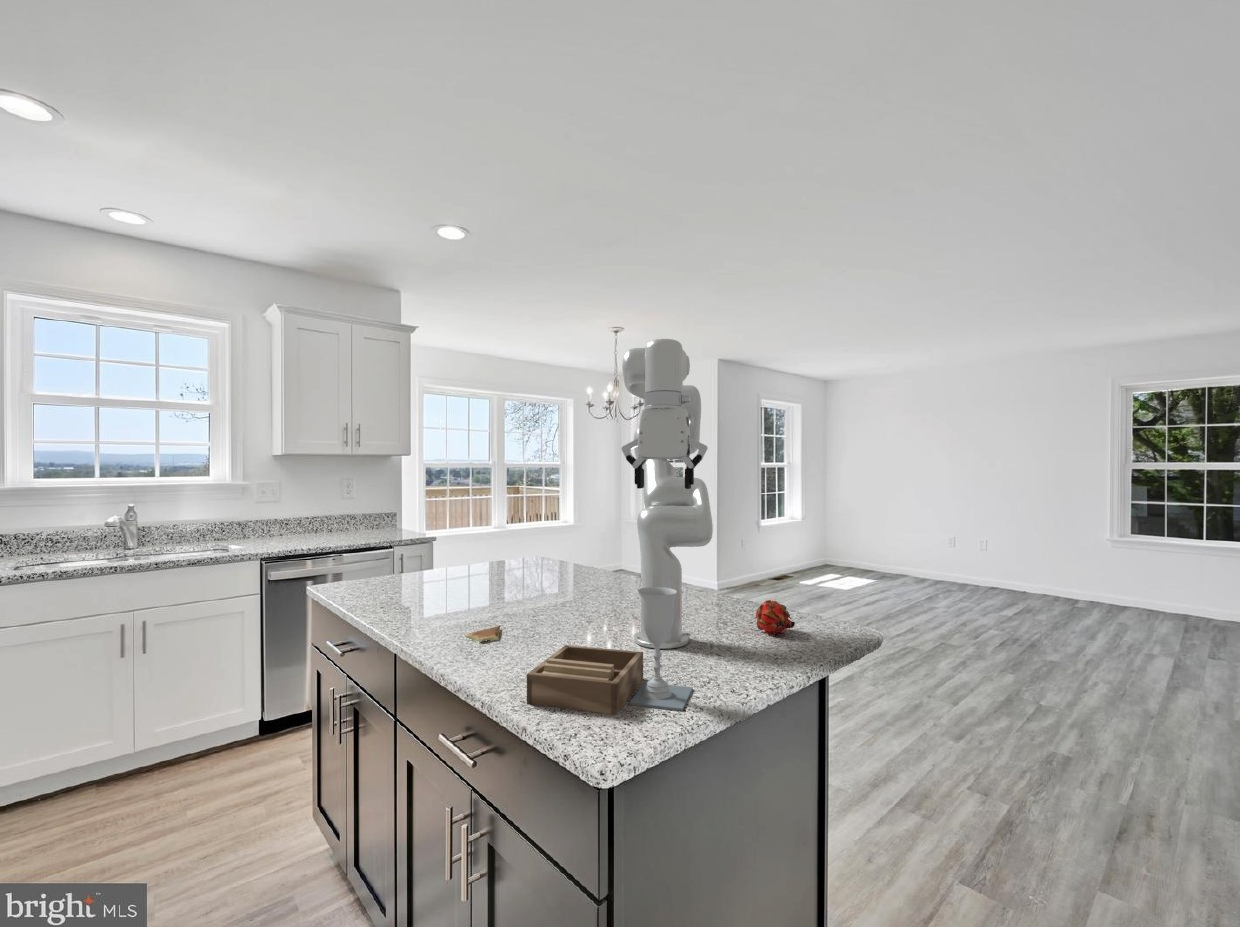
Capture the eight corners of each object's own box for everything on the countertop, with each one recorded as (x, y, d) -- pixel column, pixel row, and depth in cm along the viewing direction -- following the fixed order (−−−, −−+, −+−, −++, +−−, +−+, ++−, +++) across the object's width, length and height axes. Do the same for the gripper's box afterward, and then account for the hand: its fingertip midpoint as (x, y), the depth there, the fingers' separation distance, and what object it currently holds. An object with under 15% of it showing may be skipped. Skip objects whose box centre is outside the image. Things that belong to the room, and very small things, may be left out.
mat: (644, 684, 108) (644, 682, 108) (692, 689, 105) (692, 687, 105) (630, 704, 98) (630, 702, 98) (682, 711, 96) (682, 708, 96)
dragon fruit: (767, 632, 150) (784, 653, 138) (742, 613, 148) (756, 633, 137) (787, 606, 149) (806, 625, 137) (762, 587, 148) (778, 605, 136)
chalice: (631, 689, 104) (630, 588, 104) (664, 683, 107) (664, 585, 107) (649, 704, 97) (649, 596, 98) (684, 698, 100) (684, 593, 100)
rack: (565, 670, 116) (565, 645, 116) (643, 678, 111) (643, 652, 111) (526, 703, 99) (526, 674, 99) (616, 714, 94) (616, 683, 94)
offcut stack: (549, 695, 103) (549, 658, 103) (614, 702, 100) (614, 664, 100) (541, 702, 100) (541, 664, 100) (607, 710, 96) (607, 671, 96)
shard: (500, 631, 146) (500, 623, 146) (520, 636, 141) (520, 629, 141) (463, 640, 138) (463, 633, 138) (483, 646, 133) (483, 639, 133)
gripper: (709, 403, 117) (710, 488, 117) (627, 406, 122) (627, 487, 122) (704, 398, 110) (704, 489, 109) (616, 402, 115) (616, 488, 114)
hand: (663, 488), depth 116 cm, fingers open, 9 cm apart
